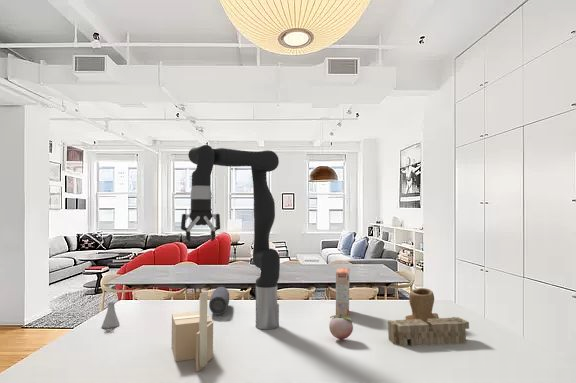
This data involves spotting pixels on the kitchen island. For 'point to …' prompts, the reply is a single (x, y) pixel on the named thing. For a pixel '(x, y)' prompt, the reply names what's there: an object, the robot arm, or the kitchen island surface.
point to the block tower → (428, 331)
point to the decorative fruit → (340, 327)
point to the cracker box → (342, 292)
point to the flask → (110, 317)
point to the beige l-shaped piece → (203, 336)
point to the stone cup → (421, 305)
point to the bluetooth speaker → (219, 300)
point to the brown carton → (185, 334)
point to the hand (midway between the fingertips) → (200, 241)
